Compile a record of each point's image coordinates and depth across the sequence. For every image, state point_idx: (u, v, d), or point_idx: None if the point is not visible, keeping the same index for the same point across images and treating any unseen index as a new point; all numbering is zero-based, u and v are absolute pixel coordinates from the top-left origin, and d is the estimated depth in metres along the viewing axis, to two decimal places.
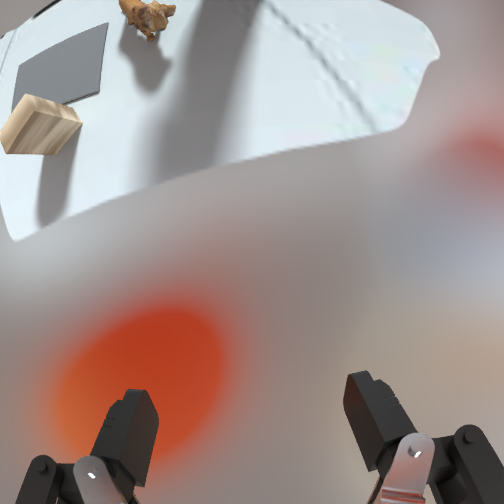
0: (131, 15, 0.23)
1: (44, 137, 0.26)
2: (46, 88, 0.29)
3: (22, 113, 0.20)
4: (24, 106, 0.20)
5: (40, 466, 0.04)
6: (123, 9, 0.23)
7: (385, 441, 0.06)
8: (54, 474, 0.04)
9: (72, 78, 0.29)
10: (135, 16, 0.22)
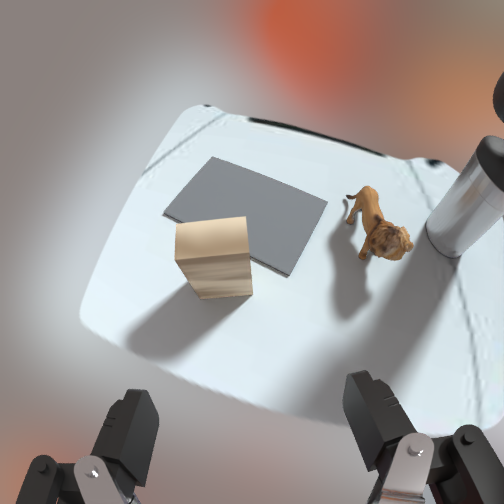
0: (370, 222, 0.33)
1: (217, 280, 0.30)
2: (231, 215, 0.41)
3: (229, 237, 0.26)
4: (237, 231, 0.26)
5: (41, 466, 0.04)
6: (358, 204, 0.36)
7: (384, 441, 0.06)
8: (55, 474, 0.04)
9: (267, 233, 0.39)
10: (380, 230, 0.31)
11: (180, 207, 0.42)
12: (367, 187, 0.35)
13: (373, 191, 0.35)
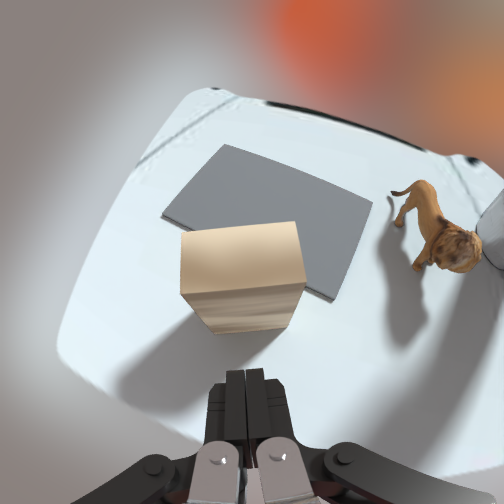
0: (432, 225, 0.24)
1: (244, 316, 0.20)
2: (253, 218, 0.31)
3: (272, 256, 0.16)
4: (283, 246, 0.16)
5: (153, 469, 0.05)
6: (413, 203, 0.27)
7: (250, 438, 0.07)
8: (172, 474, 0.05)
9: (302, 243, 0.29)
10: (448, 235, 0.21)
11: (183, 208, 0.32)
12: (423, 181, 0.26)
13: (431, 186, 0.25)
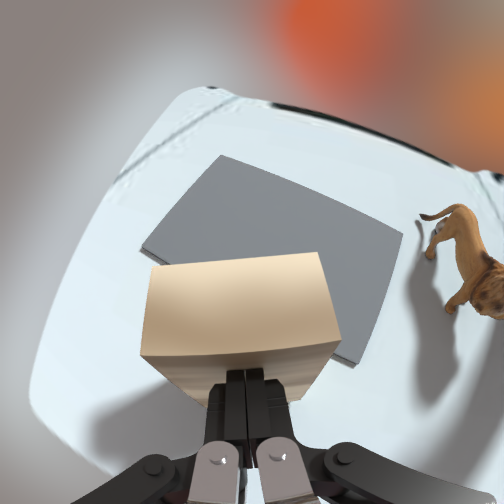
0: (475, 263, 0.17)
1: None
2: (257, 256, 0.24)
3: (286, 302, 0.10)
4: (303, 288, 0.10)
5: (153, 469, 0.05)
6: (452, 233, 0.20)
7: (249, 438, 0.07)
8: (172, 474, 0.05)
9: None
10: (495, 278, 0.15)
11: (168, 239, 0.25)
12: (463, 206, 0.19)
13: (472, 213, 0.18)
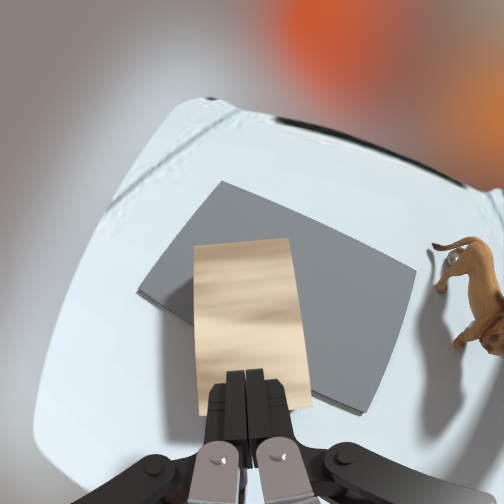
0: (489, 304, 0.15)
1: (243, 320, 0.17)
2: None
3: None
4: None
5: (153, 469, 0.05)
6: (466, 269, 0.18)
7: (250, 438, 0.07)
8: (172, 474, 0.05)
9: (329, 340, 0.20)
10: None
11: (166, 282, 0.23)
12: (479, 241, 0.18)
13: (488, 249, 0.17)
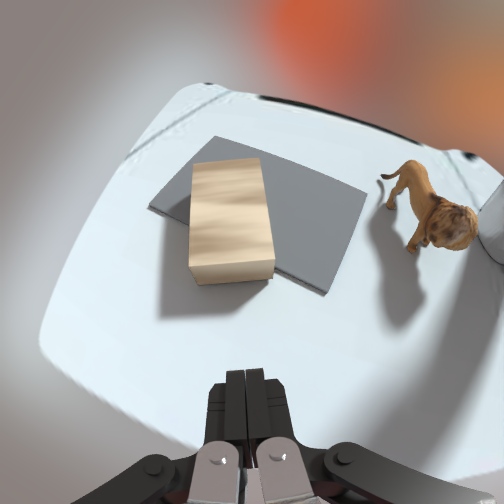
0: (425, 202, 0.23)
1: (225, 203, 0.25)
2: None
3: None
4: None
5: (153, 469, 0.05)
6: (404, 182, 0.26)
7: (250, 438, 0.07)
8: (172, 474, 0.05)
9: (293, 233, 0.28)
10: (442, 210, 0.21)
11: (171, 198, 0.30)
12: (413, 161, 0.25)
13: (421, 165, 0.25)
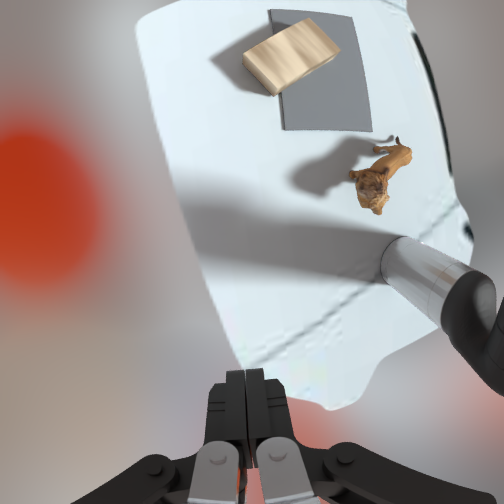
0: (379, 165, 0.33)
1: (293, 47, 0.29)
2: None
3: None
4: None
5: (153, 469, 0.05)
6: (390, 149, 0.33)
7: (249, 438, 0.07)
8: (172, 474, 0.05)
9: (309, 94, 0.34)
10: (375, 176, 0.31)
11: (283, 18, 0.30)
12: (409, 150, 0.32)
13: (408, 157, 0.32)
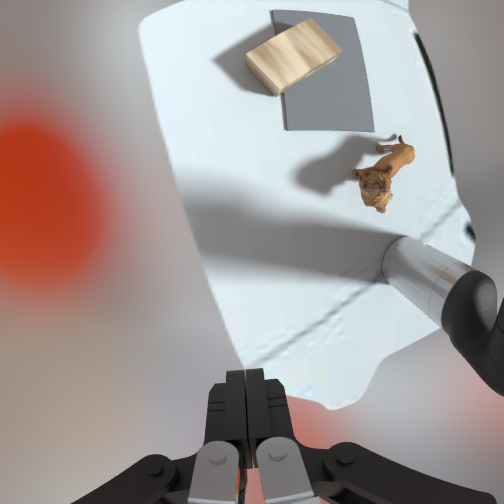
0: (382, 164, 0.33)
1: (295, 48, 0.29)
2: None
3: None
4: None
5: (153, 469, 0.05)
6: (393, 148, 0.33)
7: (250, 438, 0.07)
8: (172, 474, 0.05)
9: (311, 94, 0.34)
10: (378, 175, 0.32)
11: (285, 18, 0.30)
12: (412, 149, 0.32)
13: (411, 156, 0.31)
